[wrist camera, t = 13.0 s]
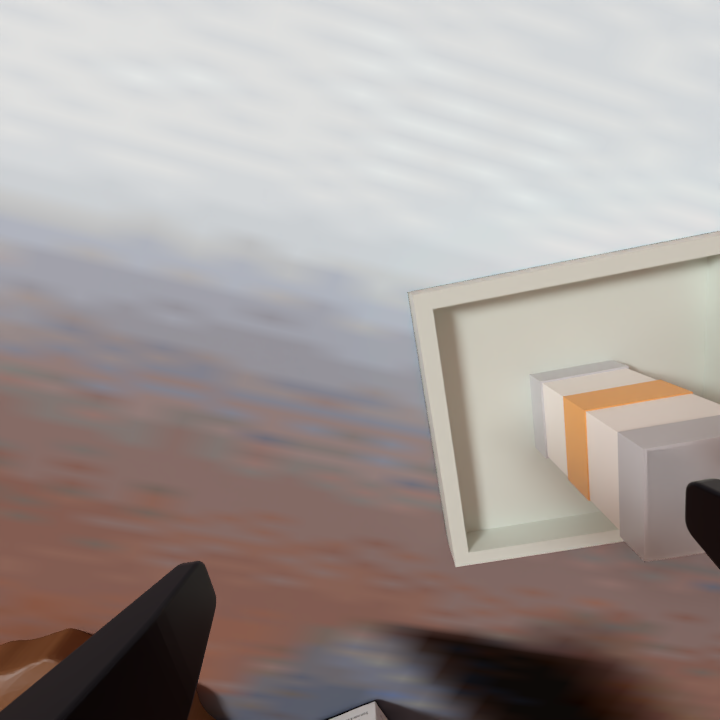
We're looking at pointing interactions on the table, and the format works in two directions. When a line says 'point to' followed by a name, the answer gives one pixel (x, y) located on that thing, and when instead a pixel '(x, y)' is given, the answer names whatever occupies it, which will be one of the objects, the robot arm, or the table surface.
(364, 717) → the ink box
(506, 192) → the table surface
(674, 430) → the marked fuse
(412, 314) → the tray
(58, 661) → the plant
